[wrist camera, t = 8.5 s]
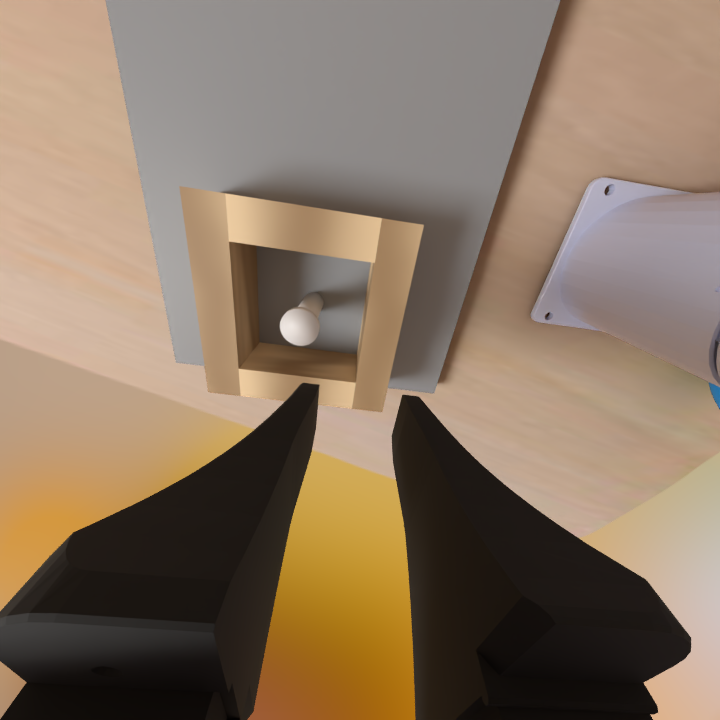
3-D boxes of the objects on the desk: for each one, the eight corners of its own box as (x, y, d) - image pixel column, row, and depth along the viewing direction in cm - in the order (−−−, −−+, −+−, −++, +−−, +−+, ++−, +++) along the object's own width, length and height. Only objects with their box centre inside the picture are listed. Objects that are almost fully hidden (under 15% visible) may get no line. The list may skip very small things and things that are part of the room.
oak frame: (410, 223, 15) (424, 224, 12) (378, 380, 19) (382, 412, 16) (219, 192, 14) (179, 186, 11) (233, 362, 19) (208, 392, 16)
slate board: (575, -88, 11) (761, -349, 6) (430, 384, 21) (451, 437, 16) (89, -205, 10) (-203, -657, 5) (185, 354, 20) (127, 401, 15)
